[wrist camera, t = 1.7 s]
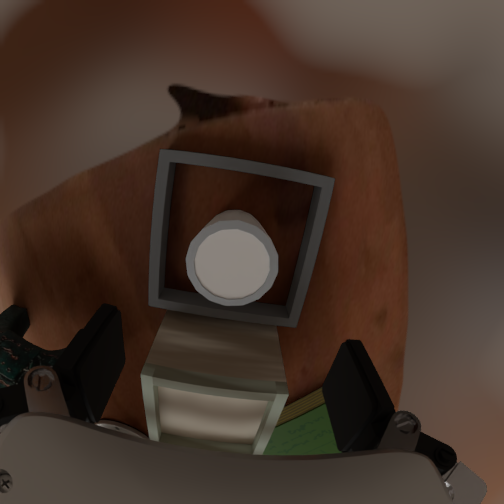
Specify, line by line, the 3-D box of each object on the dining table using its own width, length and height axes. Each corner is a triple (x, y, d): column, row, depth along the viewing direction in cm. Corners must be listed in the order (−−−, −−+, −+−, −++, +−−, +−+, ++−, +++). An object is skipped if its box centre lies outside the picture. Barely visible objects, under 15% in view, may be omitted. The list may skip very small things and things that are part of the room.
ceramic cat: (12, 325, 31) (-56, 404, 12) (3, 289, 28) (-79, 365, 10) (117, 361, 32) (61, 485, 13) (112, 322, 30) (35, 456, 11)
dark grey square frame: (292, 314, 30) (296, 327, 28) (155, 294, 29) (148, 305, 27) (326, 176, 25) (335, 178, 23) (167, 149, 24) (160, 149, 22)
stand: (256, 394, 34) (260, 459, 25) (167, 382, 33) (150, 444, 24) (276, 324, 31) (288, 394, 21) (167, 308, 30) (140, 374, 20)
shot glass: (203, 197, 26) (189, 213, 19) (276, 208, 26) (287, 228, 20) (195, 265, 28) (182, 300, 21) (263, 275, 29) (269, 312, 22)
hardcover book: (222, 430, 38) (221, 448, 35) (325, 380, 35) (332, 399, 31) (301, 472, 45) (303, 485, 42) (381, 435, 42) (386, 449, 38)
